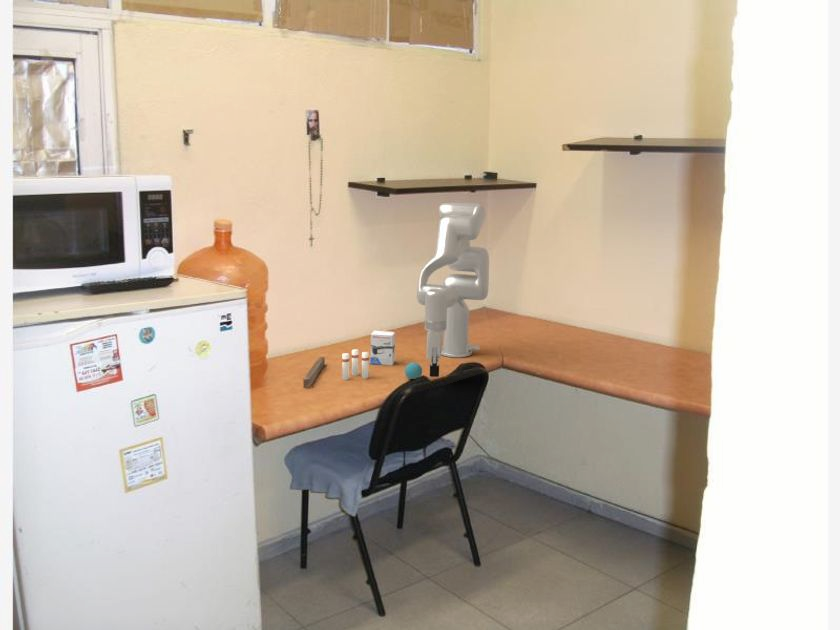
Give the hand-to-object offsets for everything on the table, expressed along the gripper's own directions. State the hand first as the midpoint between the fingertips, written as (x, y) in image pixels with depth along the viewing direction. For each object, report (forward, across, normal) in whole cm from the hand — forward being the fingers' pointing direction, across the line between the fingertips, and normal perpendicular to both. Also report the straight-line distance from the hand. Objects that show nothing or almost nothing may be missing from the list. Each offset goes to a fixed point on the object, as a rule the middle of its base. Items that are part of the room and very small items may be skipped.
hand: (434, 376), depth 280 cm
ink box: (+2, -20, -20) cm, 28 cm away
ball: (-1, 0, -7) cm, 7 cm away
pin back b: (+2, +2, -31) cm, 31 cm away
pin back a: (+2, -4, -28) cm, 28 cm away
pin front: (+2, -1, -24) cm, 24 cm away
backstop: (+2, -1, -42) cm, 42 cm away
